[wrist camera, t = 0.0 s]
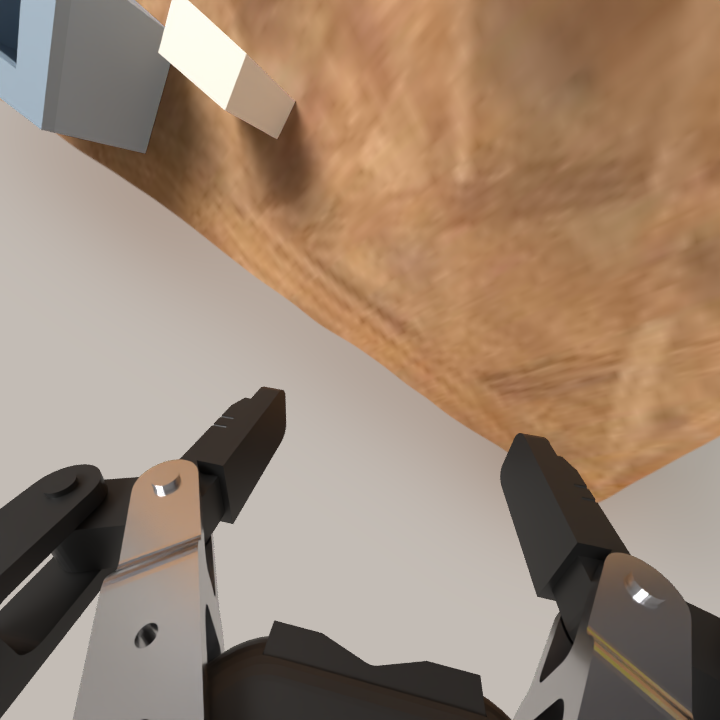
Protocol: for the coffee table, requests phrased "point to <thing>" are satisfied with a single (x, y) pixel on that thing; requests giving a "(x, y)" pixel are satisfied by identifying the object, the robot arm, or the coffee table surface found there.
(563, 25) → the coffee table surface
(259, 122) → the block
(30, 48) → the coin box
